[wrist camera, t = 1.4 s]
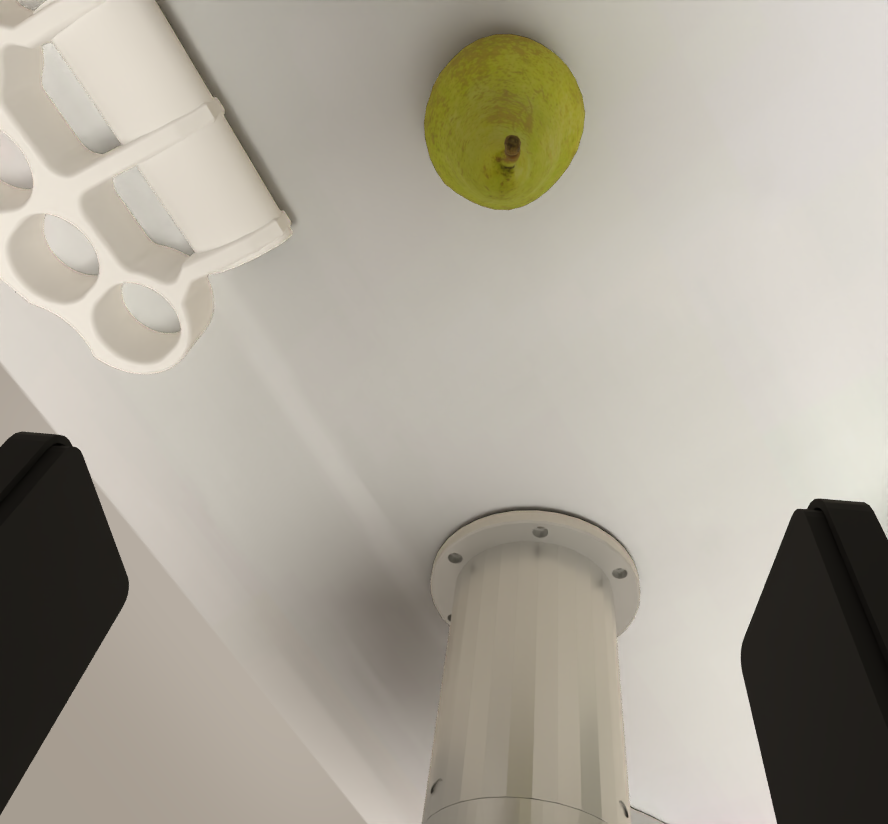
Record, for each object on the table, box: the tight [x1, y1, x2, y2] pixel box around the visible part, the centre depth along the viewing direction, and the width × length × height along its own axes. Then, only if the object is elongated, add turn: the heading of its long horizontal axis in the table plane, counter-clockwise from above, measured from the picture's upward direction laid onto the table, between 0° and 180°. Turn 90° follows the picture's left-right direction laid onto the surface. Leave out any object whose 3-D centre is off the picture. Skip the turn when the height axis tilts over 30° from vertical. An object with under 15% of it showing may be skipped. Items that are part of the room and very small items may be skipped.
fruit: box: [424, 34, 585, 210], centre depth 25 cm, size 6×6×12 cm
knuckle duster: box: [0, 0, 293, 374], centre depth 32 cm, size 3×18×15 cm
